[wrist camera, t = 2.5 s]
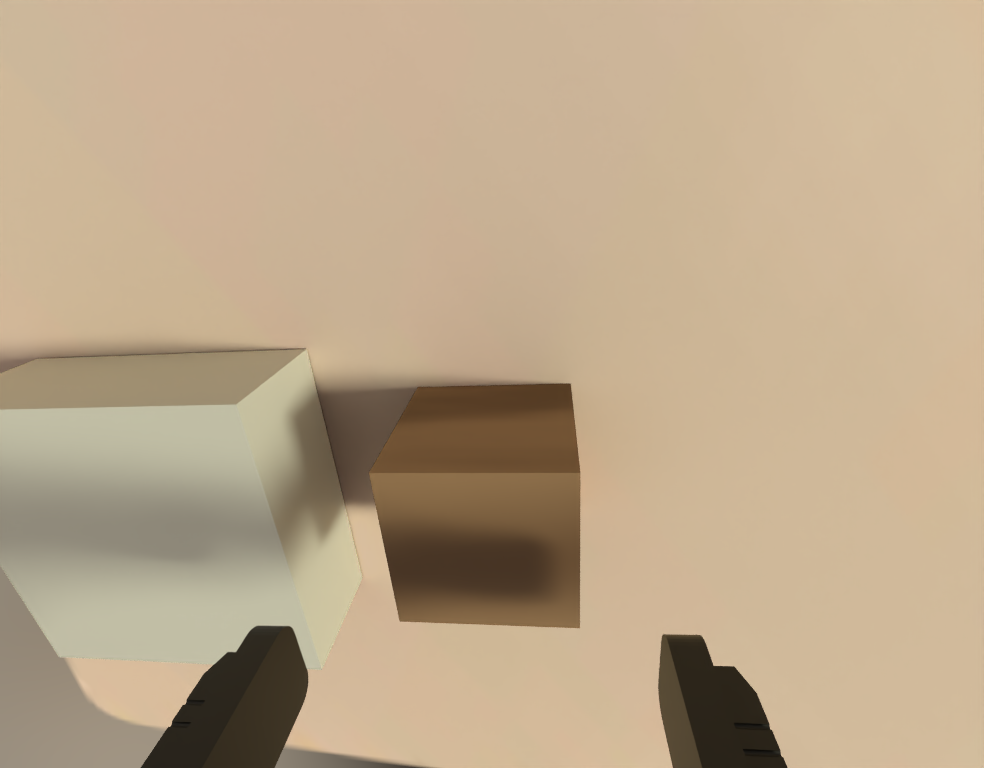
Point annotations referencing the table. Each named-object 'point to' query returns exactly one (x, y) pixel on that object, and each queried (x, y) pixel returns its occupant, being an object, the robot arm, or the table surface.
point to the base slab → (173, 504)
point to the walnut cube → (483, 506)
